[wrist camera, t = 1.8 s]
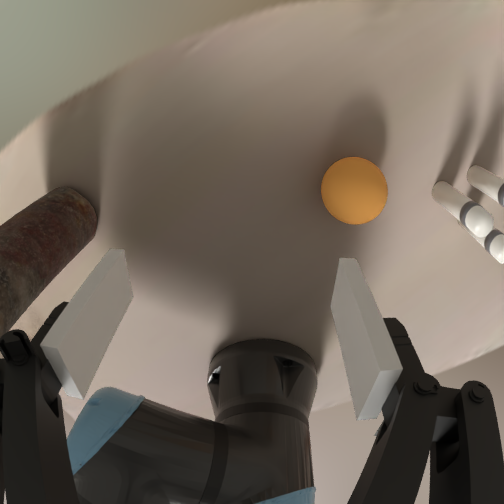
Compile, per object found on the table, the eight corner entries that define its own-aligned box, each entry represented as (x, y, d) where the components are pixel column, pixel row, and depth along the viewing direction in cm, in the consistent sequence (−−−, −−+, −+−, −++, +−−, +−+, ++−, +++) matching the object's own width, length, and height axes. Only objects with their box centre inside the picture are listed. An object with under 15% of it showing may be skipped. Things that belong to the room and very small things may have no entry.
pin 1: (483, 183, 29) (528, 213, 21) (467, 188, 29) (511, 219, 22) (482, 162, 28) (530, 188, 20) (465, 166, 28) (512, 193, 21)
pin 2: (473, 223, 31) (513, 259, 24) (457, 228, 32) (496, 267, 24) (473, 204, 30) (515, 238, 23) (456, 209, 31) (498, 244, 23)
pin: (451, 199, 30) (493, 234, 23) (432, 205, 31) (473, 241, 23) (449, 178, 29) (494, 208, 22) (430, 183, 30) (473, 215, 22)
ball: (380, 201, 31) (401, 225, 26) (324, 216, 32) (336, 244, 27) (368, 144, 28) (391, 158, 23) (309, 159, 29) (319, 176, 24)
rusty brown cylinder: (38, 215, 33) (-72, 317, 15) (62, 169, 30) (-74, 262, 12) (83, 254, 35) (-11, 378, 18) (111, 212, 32) (-2, 338, 15)
